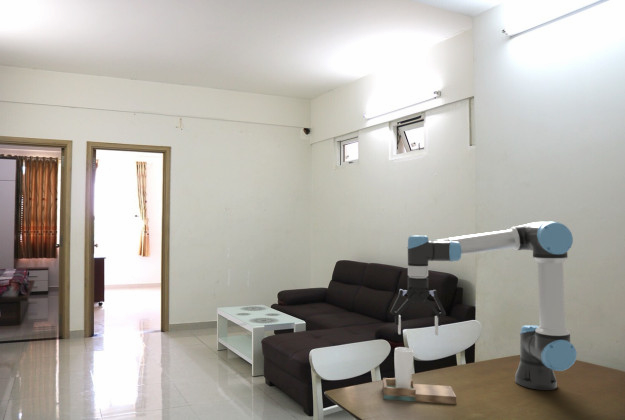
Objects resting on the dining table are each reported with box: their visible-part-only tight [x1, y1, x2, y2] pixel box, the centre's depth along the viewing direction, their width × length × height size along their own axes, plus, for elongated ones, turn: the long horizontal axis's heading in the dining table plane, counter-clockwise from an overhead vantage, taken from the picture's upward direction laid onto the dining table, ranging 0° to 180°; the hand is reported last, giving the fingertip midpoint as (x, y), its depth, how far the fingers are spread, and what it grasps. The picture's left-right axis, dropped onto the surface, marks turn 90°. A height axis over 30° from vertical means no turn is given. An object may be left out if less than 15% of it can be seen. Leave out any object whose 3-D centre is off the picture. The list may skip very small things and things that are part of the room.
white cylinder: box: [393, 346, 414, 388], centre depth 178 cm, size 7×7×15 cm
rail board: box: [382, 377, 457, 405], centre depth 177 cm, size 25×11×4 cm, turn 84°
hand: (417, 334), depth 182 cm, fingers open, 13 cm apart
